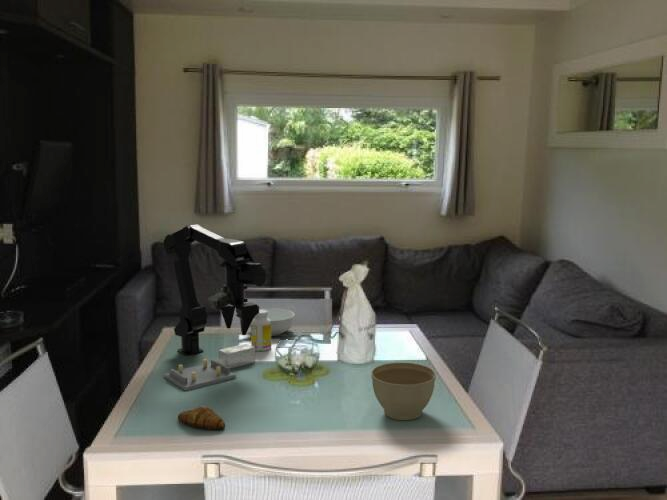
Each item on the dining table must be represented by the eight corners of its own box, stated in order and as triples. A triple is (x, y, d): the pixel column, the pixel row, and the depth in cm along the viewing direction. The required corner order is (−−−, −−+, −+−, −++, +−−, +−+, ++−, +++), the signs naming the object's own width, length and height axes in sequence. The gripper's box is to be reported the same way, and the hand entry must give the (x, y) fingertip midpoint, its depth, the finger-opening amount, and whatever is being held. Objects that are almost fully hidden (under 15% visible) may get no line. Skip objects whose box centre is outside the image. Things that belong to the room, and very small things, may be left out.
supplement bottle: (273, 345, 222) (272, 309, 220) (269, 352, 216) (268, 314, 214) (253, 345, 223) (252, 308, 221) (249, 351, 216) (248, 313, 214)
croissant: (232, 425, 160) (232, 406, 159) (216, 436, 154) (215, 416, 153) (187, 416, 166) (187, 397, 165) (170, 426, 160) (169, 406, 159)
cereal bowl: (242, 338, 231) (241, 318, 230) (255, 325, 247) (254, 307, 246) (288, 340, 228) (288, 321, 227) (299, 327, 244) (299, 309, 243)
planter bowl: (370, 401, 174) (370, 361, 173) (430, 401, 174) (431, 362, 172) (371, 426, 158) (372, 383, 157) (438, 427, 158) (439, 384, 156)
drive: (219, 365, 203) (218, 350, 202) (246, 358, 209) (245, 343, 209) (227, 369, 199) (227, 353, 198) (255, 362, 206) (254, 347, 205)
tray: (164, 376, 192) (163, 365, 192) (212, 365, 202) (212, 354, 202) (185, 390, 182) (185, 378, 181) (235, 377, 192) (235, 366, 191)
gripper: (197, 280, 202) (198, 329, 205) (227, 291, 188) (228, 343, 191) (228, 276, 209) (229, 323, 212) (260, 286, 195) (260, 336, 197)
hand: (236, 331), depth 203 cm, fingers open, 9 cm apart
